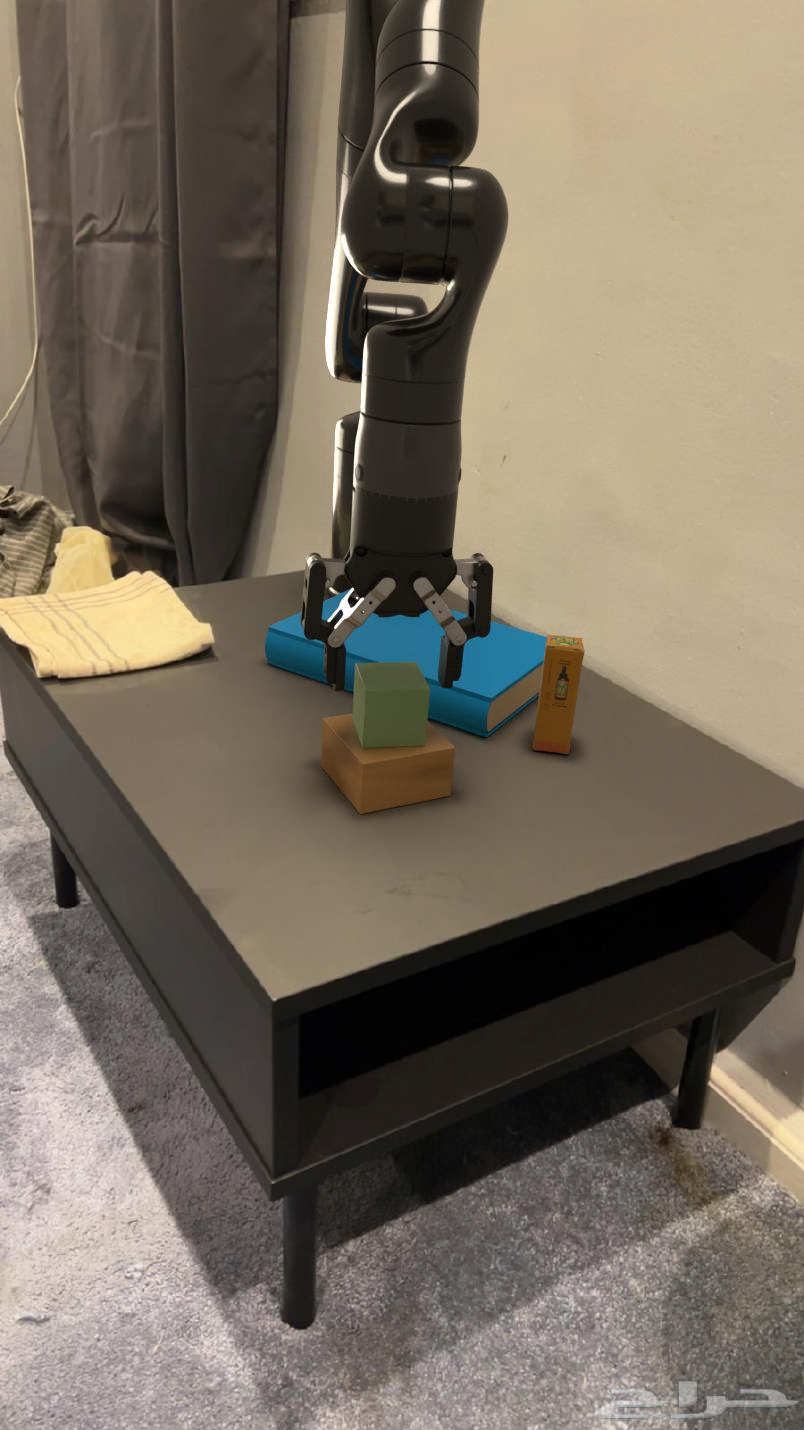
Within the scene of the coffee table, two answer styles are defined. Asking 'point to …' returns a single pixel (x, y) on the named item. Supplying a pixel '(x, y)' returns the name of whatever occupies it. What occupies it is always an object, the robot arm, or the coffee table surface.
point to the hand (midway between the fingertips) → (391, 685)
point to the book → (428, 663)
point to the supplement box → (558, 693)
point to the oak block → (385, 767)
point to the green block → (390, 704)
